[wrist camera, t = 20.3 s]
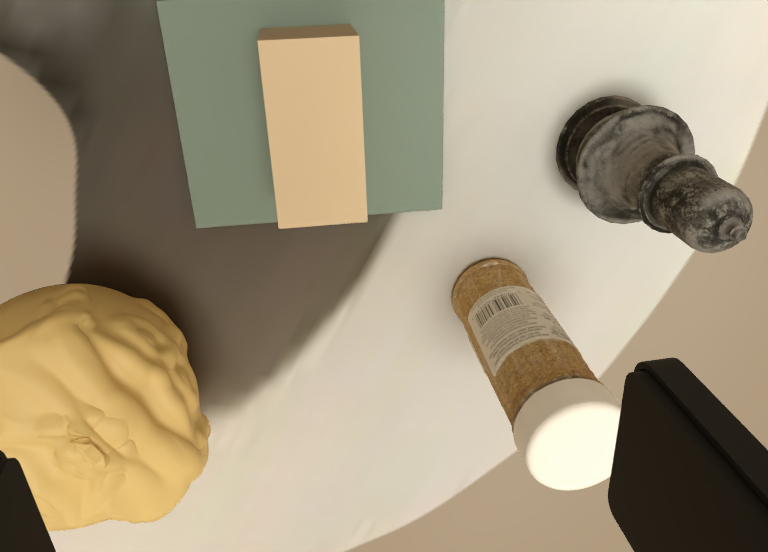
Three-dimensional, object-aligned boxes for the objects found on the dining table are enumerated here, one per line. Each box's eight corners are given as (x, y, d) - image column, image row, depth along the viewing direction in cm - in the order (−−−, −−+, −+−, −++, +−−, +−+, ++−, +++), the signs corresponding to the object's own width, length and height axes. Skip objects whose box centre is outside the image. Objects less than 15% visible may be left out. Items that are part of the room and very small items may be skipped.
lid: (199, 219, 34) (185, 263, 29) (160, -2, 29) (137, 10, 25) (437, 200, 35) (459, 240, 31) (439, -14, 30) (465, -5, 26)
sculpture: (251, 367, 38) (239, 510, 28) (84, 461, 39) (20, 627, 30) (119, 211, 33) (51, 323, 23) (-68, 326, 34) (-205, 475, 25)
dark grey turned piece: (598, 67, 33) (748, 129, 22) (680, 126, 35) (853, 208, 24) (528, 167, 35) (635, 268, 24) (609, 217, 37) (741, 330, 26)
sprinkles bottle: (459, 334, 39) (535, 508, 27) (443, 268, 37) (518, 426, 25) (533, 312, 39) (642, 476, 27) (521, 245, 37) (634, 392, 25)
